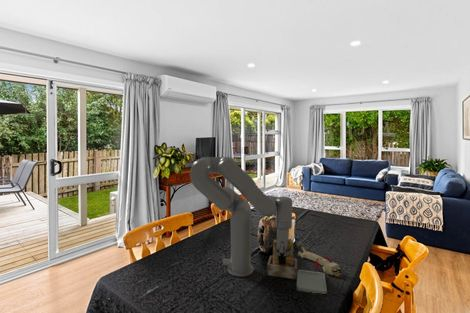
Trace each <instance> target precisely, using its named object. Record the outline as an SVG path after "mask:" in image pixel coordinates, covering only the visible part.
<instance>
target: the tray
mask: <svg viewBox="0 0 470 313" xmlns="http://www.w3.org/2000/svg"><path fill="white" fill-rule="evenodd" d="M325 275H326V273H325V272H320V271H313V270H307V269H306V270H305V269H298V268H297V274H296V291H298V292H303V293H310V292H312V293H311V294H316V293H322V294H327V295H328V291H327V284H326V283H327V282H326V276H325ZM322 294H321V295H322Z"/></svg>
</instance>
